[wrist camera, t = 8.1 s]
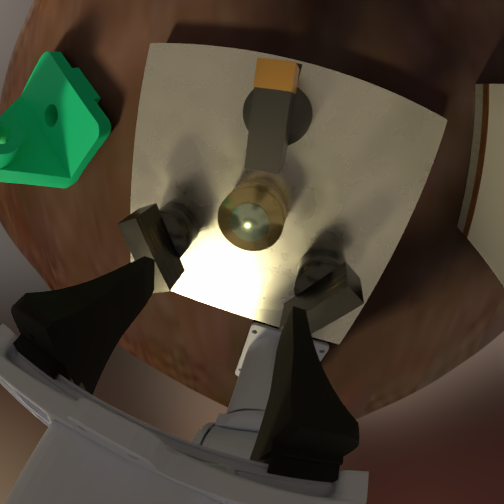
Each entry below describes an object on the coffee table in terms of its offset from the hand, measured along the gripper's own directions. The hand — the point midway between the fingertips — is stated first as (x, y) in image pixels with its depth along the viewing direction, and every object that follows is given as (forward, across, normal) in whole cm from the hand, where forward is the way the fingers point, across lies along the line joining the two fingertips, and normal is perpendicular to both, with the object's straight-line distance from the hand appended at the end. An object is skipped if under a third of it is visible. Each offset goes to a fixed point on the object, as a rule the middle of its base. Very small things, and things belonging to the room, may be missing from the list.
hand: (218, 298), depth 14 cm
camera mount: (+10, +20, -6) cm, 23 cm away
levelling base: (+9, 0, -2) cm, 10 cm away
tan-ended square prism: (+7, 0, -8) cm, 11 cm away
